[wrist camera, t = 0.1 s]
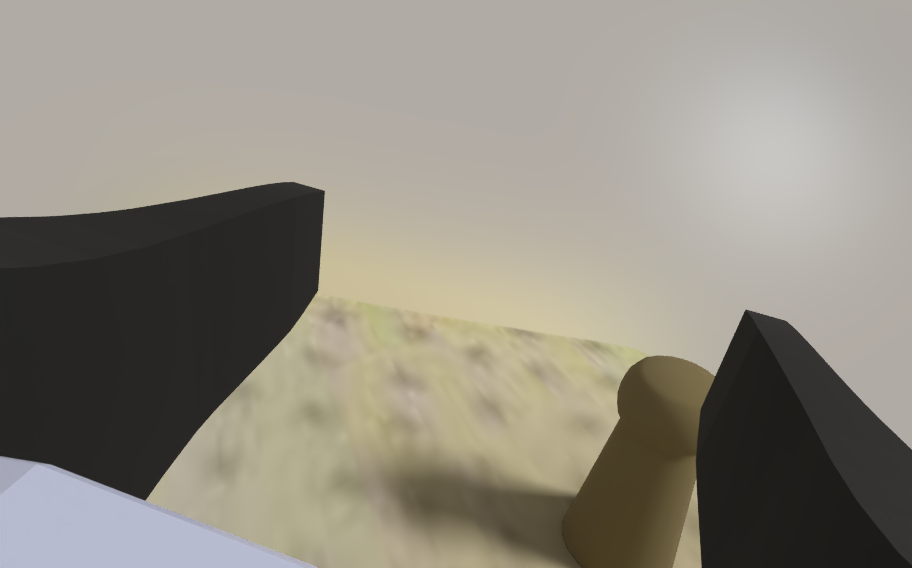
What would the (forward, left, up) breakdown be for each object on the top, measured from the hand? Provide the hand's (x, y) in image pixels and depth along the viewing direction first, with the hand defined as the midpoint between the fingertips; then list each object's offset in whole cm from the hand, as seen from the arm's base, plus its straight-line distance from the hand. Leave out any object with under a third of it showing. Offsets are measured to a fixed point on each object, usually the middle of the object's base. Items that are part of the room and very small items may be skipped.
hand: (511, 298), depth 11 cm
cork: (+19, -7, -22) cm, 30 cm away
